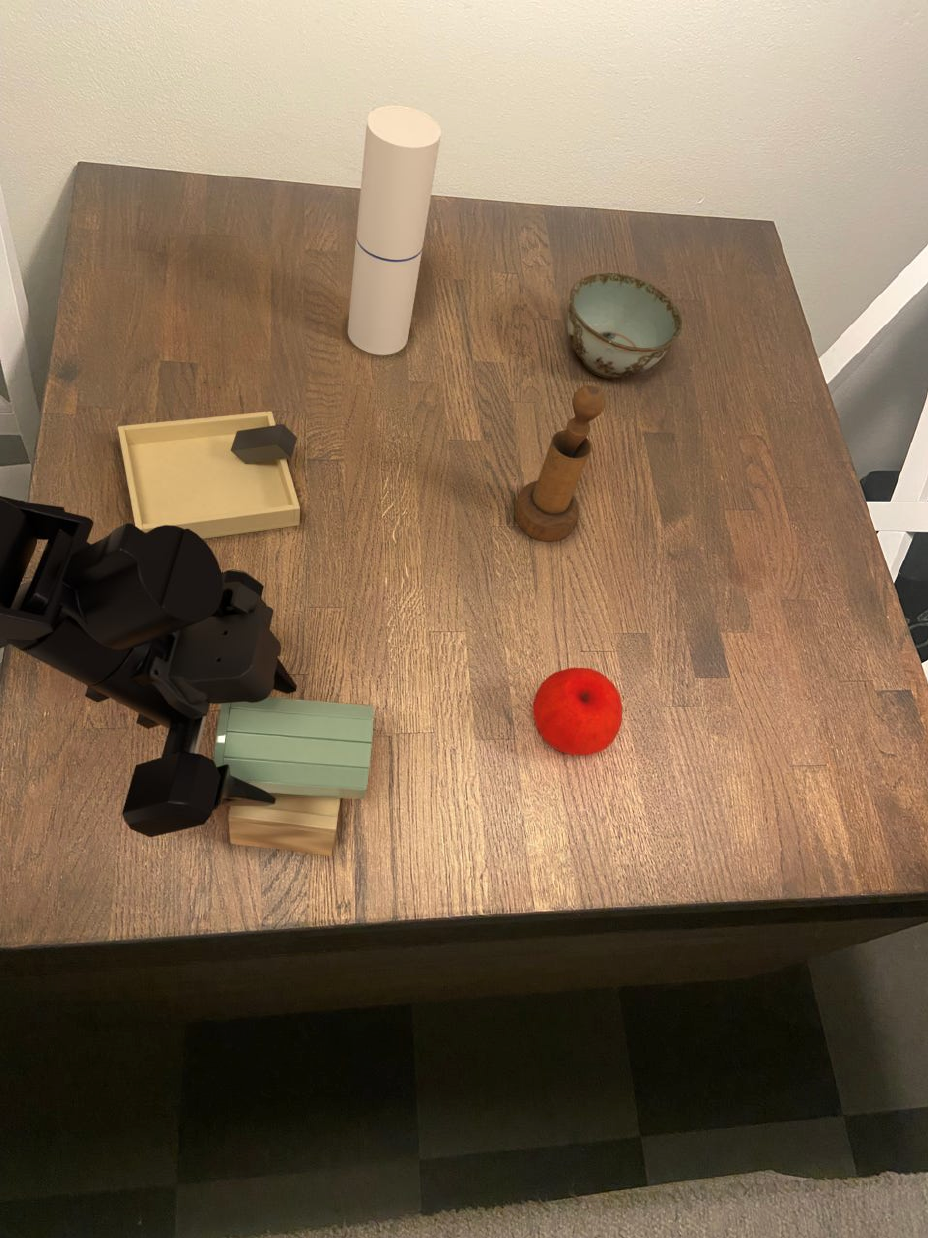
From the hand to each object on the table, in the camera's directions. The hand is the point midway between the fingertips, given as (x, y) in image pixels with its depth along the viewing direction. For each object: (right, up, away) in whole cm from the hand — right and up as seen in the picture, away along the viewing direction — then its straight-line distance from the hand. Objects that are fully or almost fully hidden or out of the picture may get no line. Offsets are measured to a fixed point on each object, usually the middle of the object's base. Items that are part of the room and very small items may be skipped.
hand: (282, 744), depth 68 cm
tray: (-12, +23, +24) cm, 35 cm away
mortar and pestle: (+22, +20, +29) cm, 42 cm away
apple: (+23, -1, +16) cm, 28 cm away
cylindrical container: (+3, +43, +41) cm, 59 cm away
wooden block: (-1, -5, +8) cm, 9 cm away
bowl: (+31, +41, +45) cm, 68 cm away
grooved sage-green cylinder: (+1, 0, +1) cm, 1 cm away
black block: (-7, +27, +23) cm, 36 cm away
